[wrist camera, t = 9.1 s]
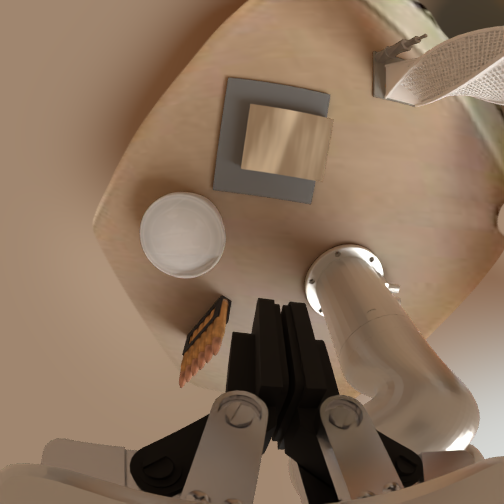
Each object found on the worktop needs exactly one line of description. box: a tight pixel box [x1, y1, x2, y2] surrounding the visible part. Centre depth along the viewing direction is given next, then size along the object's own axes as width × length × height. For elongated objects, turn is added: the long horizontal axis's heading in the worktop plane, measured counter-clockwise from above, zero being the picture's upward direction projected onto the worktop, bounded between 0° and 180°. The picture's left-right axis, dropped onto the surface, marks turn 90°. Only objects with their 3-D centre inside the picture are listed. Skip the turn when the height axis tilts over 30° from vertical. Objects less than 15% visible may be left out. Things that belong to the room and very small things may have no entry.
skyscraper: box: [373, 26, 504, 107], centre depth 17 cm, size 8×8×28 cm
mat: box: [213, 78, 330, 204], centre depth 34 cm, size 13×15×1 cm
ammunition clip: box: [179, 296, 231, 388], centre depth 40 cm, size 11×2×12 cm, turn 143°
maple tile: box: [241, 104, 334, 182], centre depth 33 cm, size 2×8×10 cm
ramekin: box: [140, 192, 226, 278], centre depth 37 cm, size 11×11×5 cm
